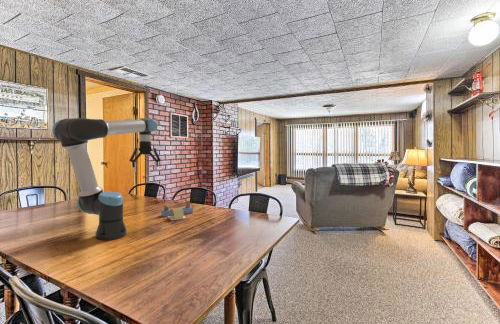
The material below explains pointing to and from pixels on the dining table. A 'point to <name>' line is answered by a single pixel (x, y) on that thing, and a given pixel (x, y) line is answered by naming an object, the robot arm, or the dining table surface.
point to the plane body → (185, 209)
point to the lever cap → (176, 213)
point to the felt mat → (176, 219)
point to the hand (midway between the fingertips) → (145, 171)
